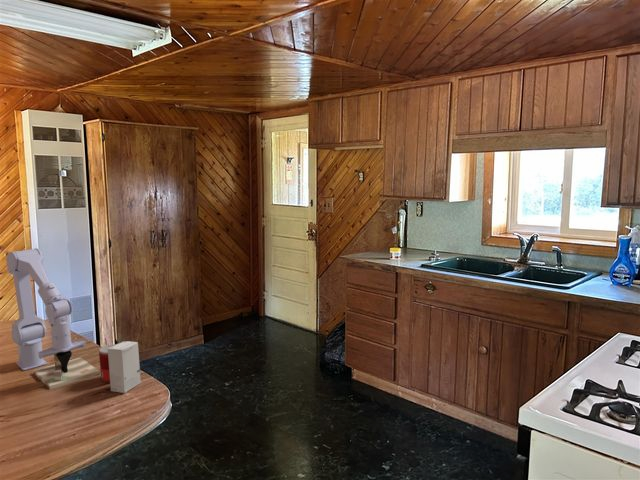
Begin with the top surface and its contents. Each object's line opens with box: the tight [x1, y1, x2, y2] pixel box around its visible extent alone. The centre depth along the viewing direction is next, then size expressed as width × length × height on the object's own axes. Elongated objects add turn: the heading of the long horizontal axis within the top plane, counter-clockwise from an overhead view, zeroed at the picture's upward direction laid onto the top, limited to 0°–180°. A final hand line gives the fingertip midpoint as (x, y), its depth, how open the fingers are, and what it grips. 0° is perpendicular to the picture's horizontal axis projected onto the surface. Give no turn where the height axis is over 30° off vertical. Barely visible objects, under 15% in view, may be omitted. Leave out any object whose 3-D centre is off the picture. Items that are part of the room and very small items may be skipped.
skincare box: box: [108, 340, 142, 394], centre depth 155 cm, size 8×6×15 cm
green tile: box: [50, 376, 67, 382], centre depth 160 cm, size 5×3×1 cm, turn 114°
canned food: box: [98, 343, 117, 384], centre depth 162 cm, size 8×8×11 cm
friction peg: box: [53, 354, 63, 381], centre depth 165 cm, size 15×4×5 cm, turn 24°
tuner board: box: [33, 356, 101, 390], centre depth 167 cm, size 18×16×1 cm
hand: (64, 371), depth 162 cm, fingers closed, pressing on friction peg
